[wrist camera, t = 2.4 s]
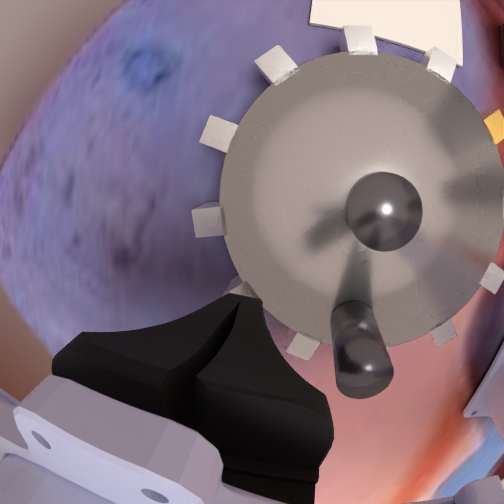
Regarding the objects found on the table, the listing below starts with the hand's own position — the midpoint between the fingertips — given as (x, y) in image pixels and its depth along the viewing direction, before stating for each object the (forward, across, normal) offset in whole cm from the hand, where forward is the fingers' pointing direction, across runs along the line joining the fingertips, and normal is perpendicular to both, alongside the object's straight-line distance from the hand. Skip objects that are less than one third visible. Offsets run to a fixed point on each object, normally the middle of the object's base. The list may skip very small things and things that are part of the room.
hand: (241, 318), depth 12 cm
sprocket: (+4, -5, -5) cm, 8 cm away
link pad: (+4, -5, -16) cm, 17 cm away
